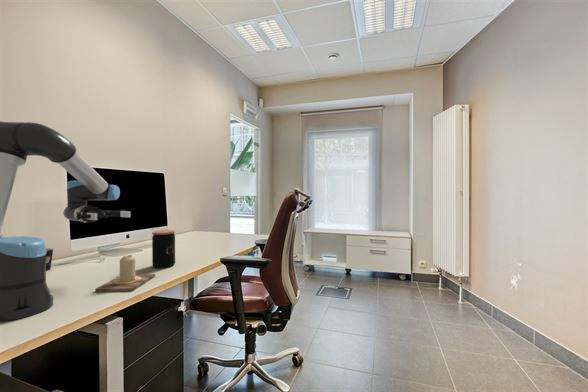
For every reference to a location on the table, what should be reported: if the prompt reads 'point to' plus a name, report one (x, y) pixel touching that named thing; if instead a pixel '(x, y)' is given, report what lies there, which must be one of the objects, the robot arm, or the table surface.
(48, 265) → the coffee mug
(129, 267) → the candle
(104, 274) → the table surface
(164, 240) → the coffee jar
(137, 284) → the candle board
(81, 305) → the table surface
